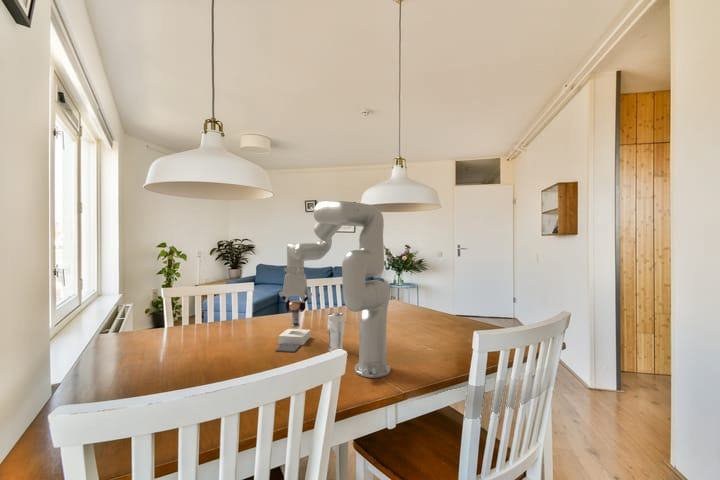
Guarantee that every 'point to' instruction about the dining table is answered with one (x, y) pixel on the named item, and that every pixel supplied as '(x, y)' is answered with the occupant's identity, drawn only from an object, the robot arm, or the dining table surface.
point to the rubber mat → (288, 348)
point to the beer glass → (335, 330)
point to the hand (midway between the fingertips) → (295, 310)
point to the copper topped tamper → (295, 312)
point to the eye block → (294, 336)
